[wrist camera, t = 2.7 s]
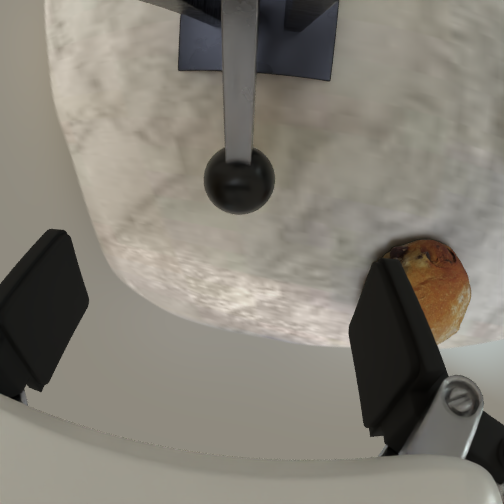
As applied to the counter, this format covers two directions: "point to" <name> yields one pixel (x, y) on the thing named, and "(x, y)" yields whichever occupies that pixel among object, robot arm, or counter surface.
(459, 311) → the bread roll
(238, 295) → the counter surface
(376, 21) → the counter surface
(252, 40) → the lever handle
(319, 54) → the lever base
